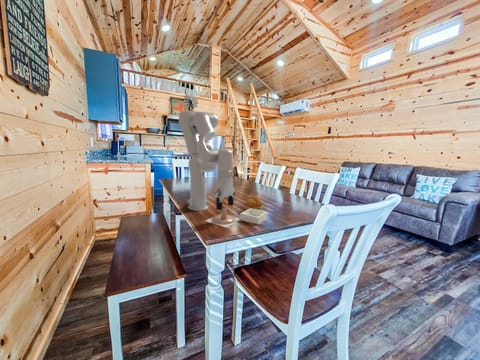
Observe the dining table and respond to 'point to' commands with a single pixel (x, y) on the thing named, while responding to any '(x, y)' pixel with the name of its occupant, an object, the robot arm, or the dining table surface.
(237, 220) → the mat
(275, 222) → the dining table surface
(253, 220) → the dish
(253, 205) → the cheeseburger
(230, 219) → the lid
